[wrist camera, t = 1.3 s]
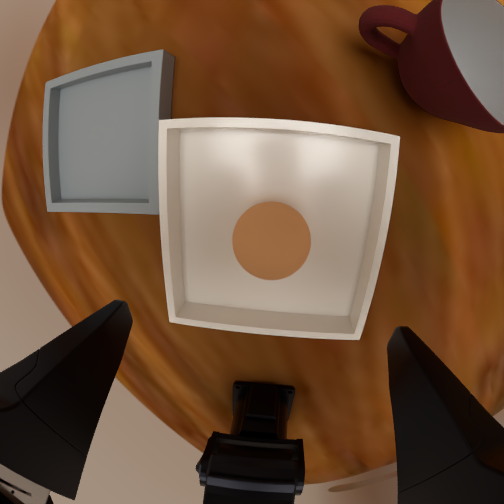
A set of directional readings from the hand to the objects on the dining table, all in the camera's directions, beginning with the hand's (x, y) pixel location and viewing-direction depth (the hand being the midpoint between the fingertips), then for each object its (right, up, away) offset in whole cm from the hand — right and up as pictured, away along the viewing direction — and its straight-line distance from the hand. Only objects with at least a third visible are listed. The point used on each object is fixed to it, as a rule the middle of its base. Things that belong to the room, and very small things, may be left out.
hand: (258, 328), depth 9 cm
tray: (-12, +12, +11) cm, 20 cm away
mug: (+11, +16, +7) cm, 20 cm away
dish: (+1, +4, +12) cm, 13 cm away
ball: (+1, +3, +9) cm, 10 cm away
